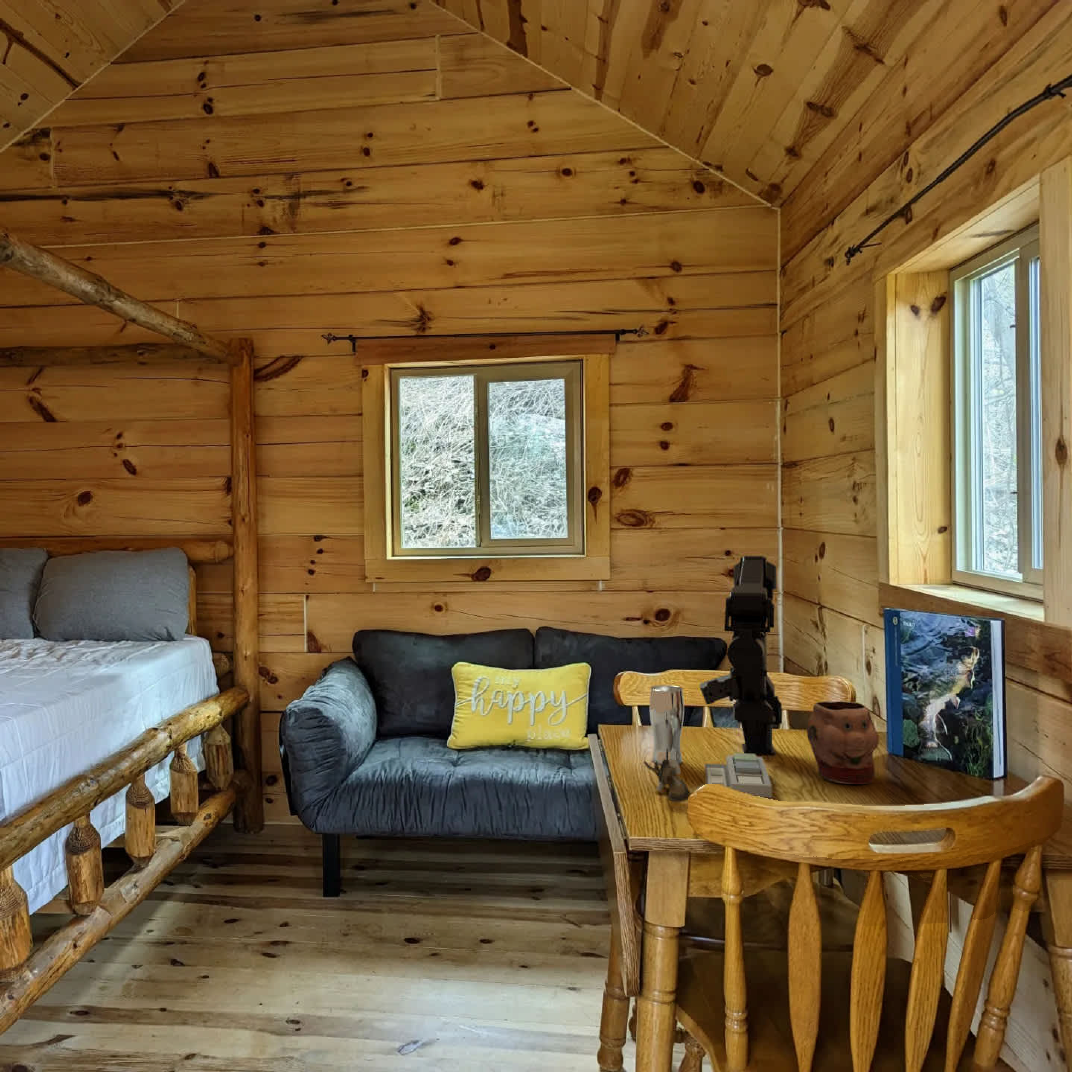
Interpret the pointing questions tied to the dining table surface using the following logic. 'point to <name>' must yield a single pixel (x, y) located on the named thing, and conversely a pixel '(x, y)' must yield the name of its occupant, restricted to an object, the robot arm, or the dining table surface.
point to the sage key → (744, 757)
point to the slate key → (747, 767)
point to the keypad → (730, 778)
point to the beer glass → (666, 721)
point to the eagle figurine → (670, 779)
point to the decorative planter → (843, 741)
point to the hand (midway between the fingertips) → (749, 750)
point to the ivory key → (749, 779)
